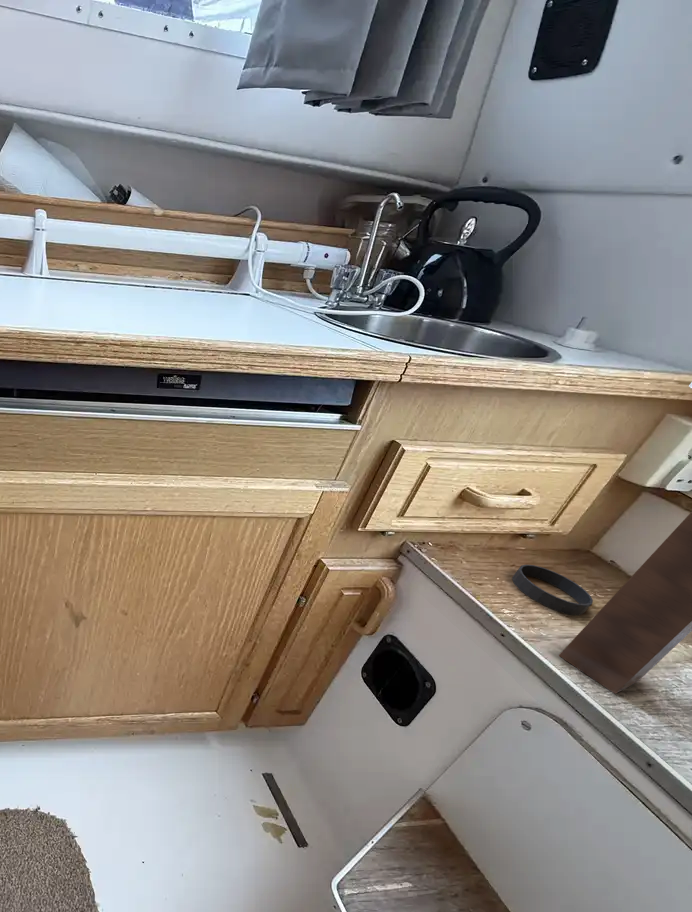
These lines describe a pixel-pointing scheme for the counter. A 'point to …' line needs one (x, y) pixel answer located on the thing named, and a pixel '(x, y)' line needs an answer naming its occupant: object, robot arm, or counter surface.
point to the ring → (548, 598)
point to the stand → (640, 617)
